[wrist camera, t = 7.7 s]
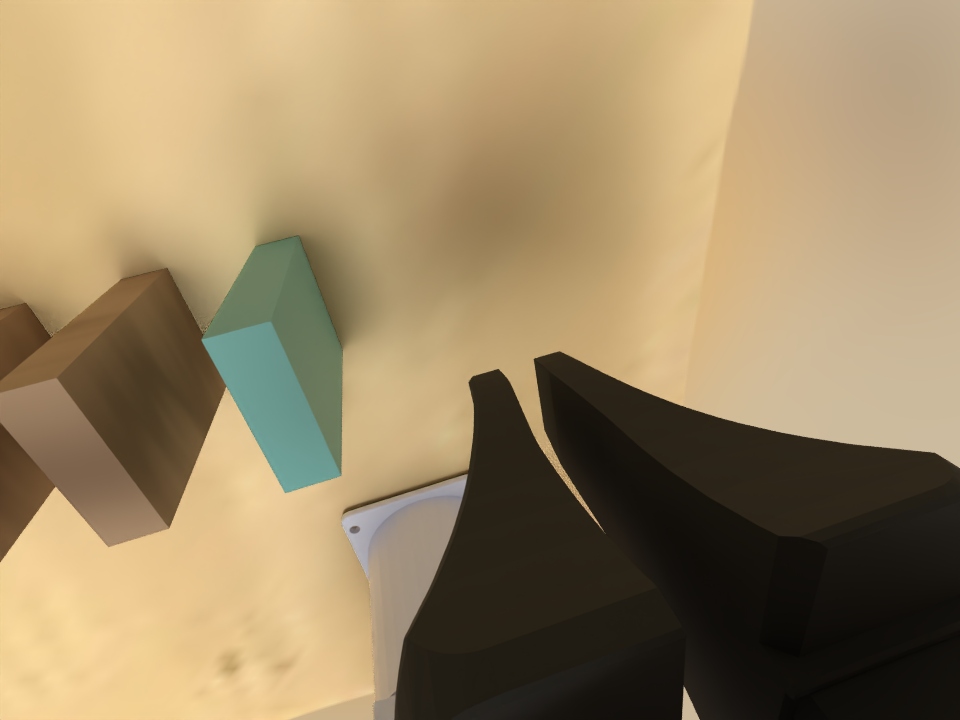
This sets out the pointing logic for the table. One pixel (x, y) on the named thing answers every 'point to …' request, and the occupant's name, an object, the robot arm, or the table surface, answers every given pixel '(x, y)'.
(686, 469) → the robot arm
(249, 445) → the table surface
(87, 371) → the walnut domino
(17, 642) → the table surface
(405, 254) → the table surface
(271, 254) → the teal domino
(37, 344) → the walnut domino
